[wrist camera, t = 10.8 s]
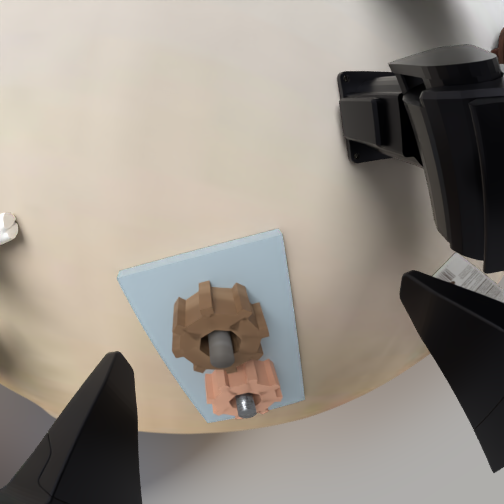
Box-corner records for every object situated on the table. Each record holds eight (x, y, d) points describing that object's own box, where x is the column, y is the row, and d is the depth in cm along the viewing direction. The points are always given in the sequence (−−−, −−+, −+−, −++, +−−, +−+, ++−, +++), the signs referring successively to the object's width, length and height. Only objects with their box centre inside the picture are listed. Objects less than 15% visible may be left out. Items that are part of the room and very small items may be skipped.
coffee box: (464, 293, 29) (538, 371, 15) (431, 325, 30) (499, 413, 16) (456, 249, 25) (556, 339, 11) (417, 287, 26) (511, 395, 12)
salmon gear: (269, 346, 24) (277, 372, 21) (278, 385, 27) (285, 408, 25) (196, 363, 24) (197, 390, 21) (217, 399, 27) (220, 423, 24)
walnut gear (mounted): (225, 264, 19) (233, 305, 15) (275, 319, 22) (289, 360, 19) (155, 312, 20) (149, 356, 16) (210, 357, 23) (215, 398, 19)
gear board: (278, 228, 20) (282, 234, 19) (302, 393, 31) (304, 399, 30) (119, 270, 19) (116, 278, 18) (207, 416, 30) (207, 422, 29)
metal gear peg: (246, 368, 25) (254, 407, 21) (249, 377, 26) (258, 415, 22) (229, 372, 25) (236, 412, 21) (233, 381, 26) (240, 419, 22)
